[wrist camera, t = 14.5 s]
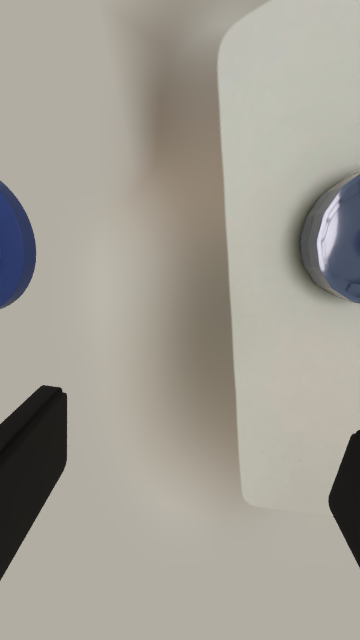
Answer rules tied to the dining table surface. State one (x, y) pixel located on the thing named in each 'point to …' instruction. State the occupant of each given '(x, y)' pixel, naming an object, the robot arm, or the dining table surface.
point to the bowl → (335, 240)
